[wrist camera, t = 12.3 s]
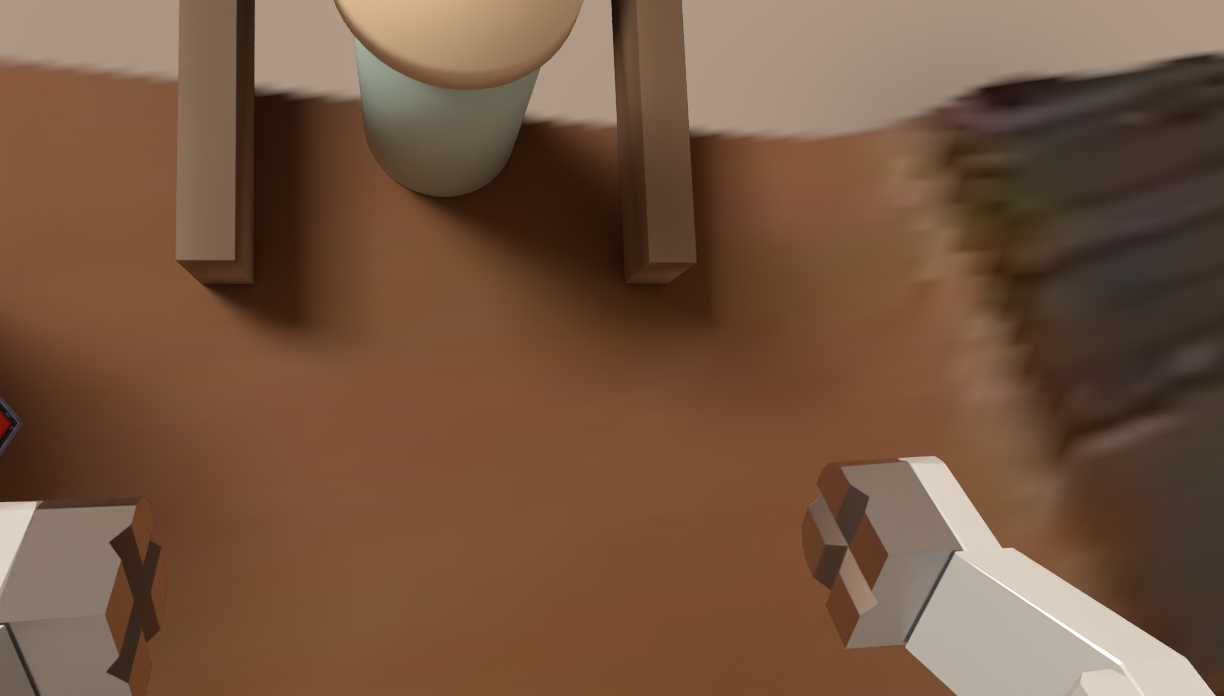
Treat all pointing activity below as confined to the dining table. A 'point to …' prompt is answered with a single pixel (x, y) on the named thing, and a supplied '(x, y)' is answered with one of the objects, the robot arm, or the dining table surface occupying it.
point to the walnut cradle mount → (224, 140)
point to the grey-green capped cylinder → (450, 82)
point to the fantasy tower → (7, 424)
